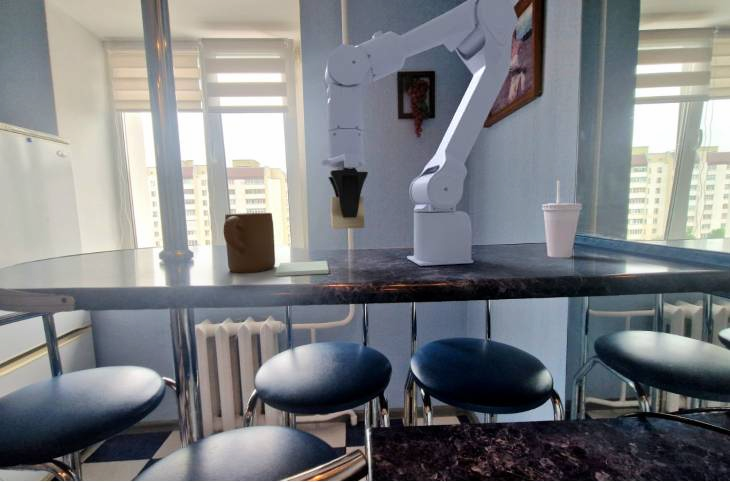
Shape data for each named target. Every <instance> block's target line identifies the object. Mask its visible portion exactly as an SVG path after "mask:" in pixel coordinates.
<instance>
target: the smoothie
mask: <svg viewBox="0 0 730 482" xmlns="http://www.w3.org/2000/svg"><path fill="white" fill-rule="evenodd" d="M556 181H557V183H556V184H557V185H556V202H555V203H545V204H544V203H543V204H541V210H542V211H543V220H544V229H545V230H544V231H545V240H546V250H547V252H546V253H547V257H550V258H557V259H558V258H559V259H569V258H571V257H572V253H573V249H574V248H573V247H574V242H575V239H576V234H577V233H576V232H577V228H578V223H579V216H580V212H581V210H583V204H582V203H575V202H561V192H562V191H561V190H562V189H561V188H562V187H561V186H562V180H556Z"/></svg>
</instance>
